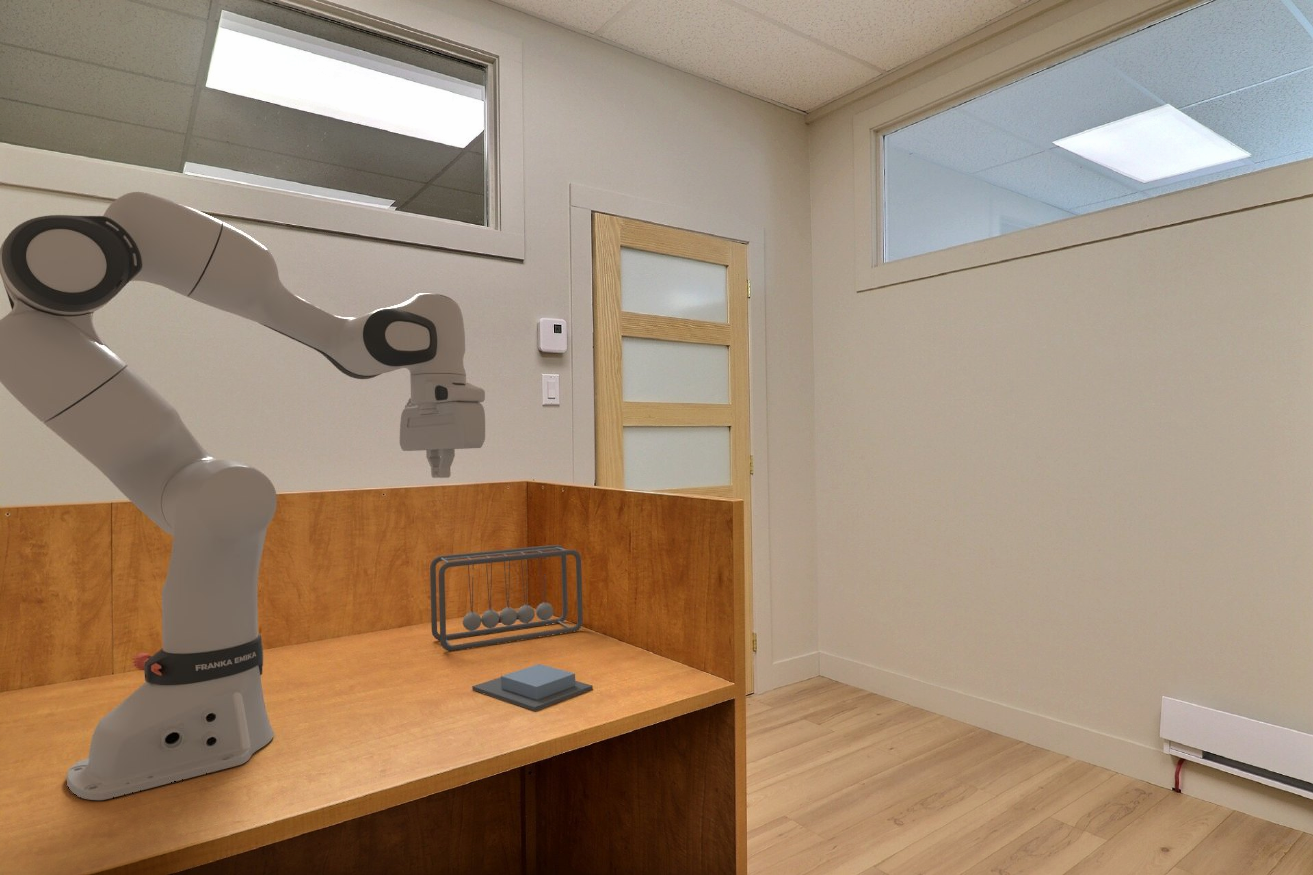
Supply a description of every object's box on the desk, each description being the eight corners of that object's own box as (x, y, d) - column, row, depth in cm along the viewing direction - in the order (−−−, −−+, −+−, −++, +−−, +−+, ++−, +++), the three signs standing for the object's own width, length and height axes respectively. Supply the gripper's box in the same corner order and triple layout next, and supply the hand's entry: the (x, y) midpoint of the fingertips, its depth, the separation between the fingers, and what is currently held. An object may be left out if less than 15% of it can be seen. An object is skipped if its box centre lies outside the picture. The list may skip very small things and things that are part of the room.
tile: (539, 676, 121) (575, 686, 115) (501, 688, 115) (536, 700, 109) (539, 663, 121) (575, 673, 116) (500, 676, 115) (536, 687, 109)
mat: (534, 711, 107) (534, 707, 107) (472, 689, 117) (472, 686, 117) (592, 689, 116) (592, 685, 116) (530, 671, 126) (529, 667, 126)
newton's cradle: (567, 621, 163) (564, 543, 163) (583, 631, 153) (581, 548, 154) (431, 641, 149) (429, 556, 149) (441, 653, 140) (438, 562, 140)
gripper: (389, 397, 122) (390, 478, 122) (457, 388, 109) (459, 478, 108) (422, 399, 127) (424, 476, 127) (491, 390, 113) (493, 476, 113)
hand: (441, 477), depth 117 cm, fingers closed
